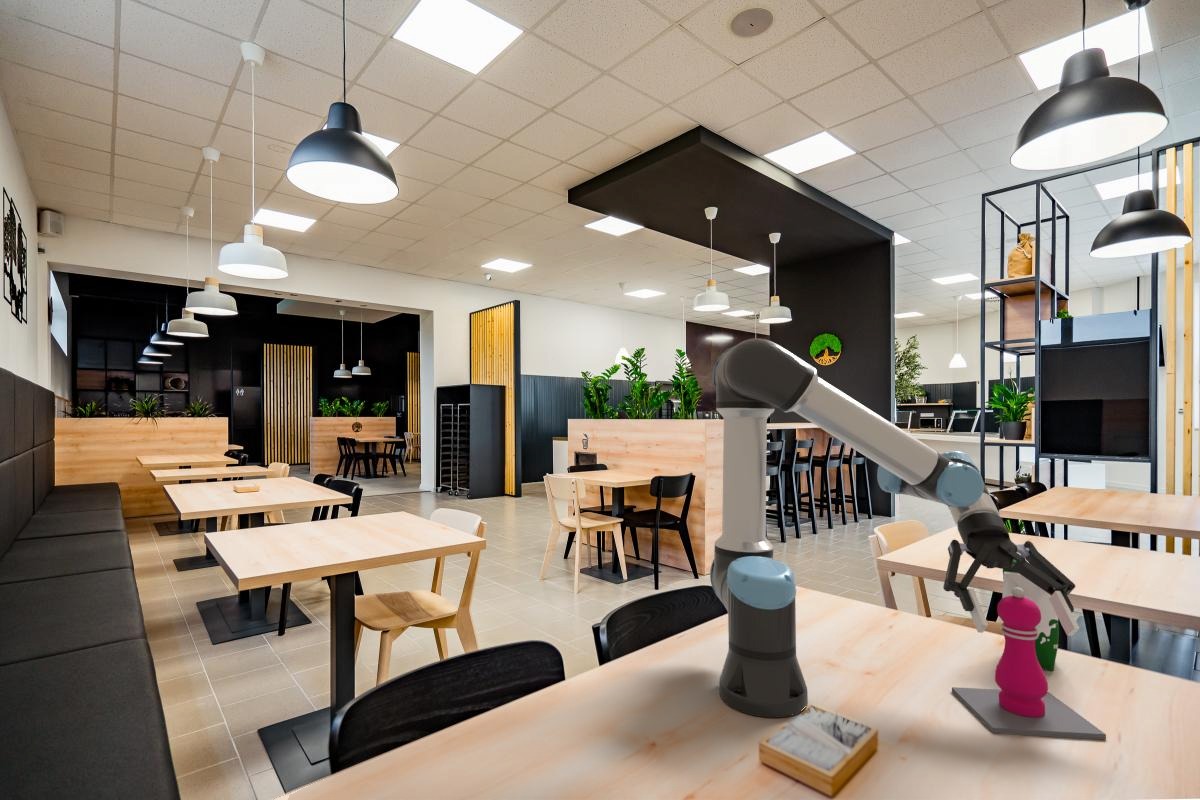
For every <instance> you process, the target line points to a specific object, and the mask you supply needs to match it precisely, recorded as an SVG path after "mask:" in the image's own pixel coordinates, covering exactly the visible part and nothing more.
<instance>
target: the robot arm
mask: <svg viewBox="0 0 1200 800" xmlns="http://www.w3.org/2000/svg"><path fill="white" fill-rule="evenodd" d="M712 383H713V386H714V389H715V390H716V391H715V392H716V397H715V399H716V400H715V403H716V404H715V405H716V406H715V408H716V409H715V410H716V411H717V412H718V414H720V415H721V416H722V418H723V434H722V435H723V443H722V444H723V450H722V451H723V452H722V455H723V456H722V515H721V516H722V523H721V524H722V525H721V526H722V529H721V535H720V536H719V538H717V539H716V540H715V541H714V549H713V551H714V553H713V554H714V558H713V560H712V561H711V565H710V570H709V571H710V573H709V578H710V579H709V580H710V583H711V587H712V589H713V592H714V593H715V595H716V597H717V598H718V599H719V600H720V602H721V603H722V605H723V606H724V608H725V609H726V612H727V616H728V617H727V619H728V620H727V622H728V624H727V626H728V627H727V628H728V633H727V634H728V652H727V654H726V656H725V660H724V664H723V667H722V670H721V672H720V676H719V682H718V683H719V689H718V690H719V692H720V693H719V692H718V693H719V697H720V698H721V700H722V701H723V702H724V703H725V704H726V705H728V706H729V707H731V708H733V709H735V710H737V711H739V712H742V713H744V714H748V715H750V716H751V715H752V716H757V717H763V718H785V717H787V718H788V717H792V716H793V715H792V714H795V715H797V714H796V713H798V714H800V713H801V710H802V709H803V708H804V707H805V706H807V707H808V703H809V699H808V698H809V697H808V694H809V693H808V687H807V684H806V683H807V682H806V681H805V678H804V675H803V672H802V669H801V666H800V663H799V661H798V660H799V659H798V657H797V629H796V627H797V621H796V619H797V618H796V613H797V611H796V595H797V588H796V587H797V585H796V583H795V581H796V580H795V576H794V572H793V570H792V569H791V567H789V565H787V564H786V563H784V562H782V561H780V560H774V545H773V544H772V543H771V541H769V539H767V535H766V531H767V529H766V528H767V525H766V524H767V521H766V520H767V517H766V516H767V438H768V437H767V435H768V434H767V427H768V426H767V425H768V423H767V422H768V421H767V420H768V419H769V417H770V416H771V415H772V414H773V413H774V412H775V409H776V408H777V409H779V410H781V411H782V412H784V413H790V412H794V413H796V414H797V415H799V416H800V417H802V418H803V419H805V420H807V421H809V423H812V424H814V425H815V426H816V427H818V428H820V429H821V430H822V431H824V432H826V433H827V434H829V435H831V436H832V437H834V438H836V440H837V439H838V441H840V442H842V443H844V444H845V445H847V446H848V447H850V448H851V449H853V450H854V451H857V452H858V453H860V454H861V455H863V456H864V457H866V458H867V459H869V460H871V461H873V462H874V463H876V464H877V465H878V468H877V475H876V477H877V483H878V486H879V487H880V489H881V490H882V491H884V492H885V493H892V494H894V495H906V496H912V497H914V498H919V499H922V500H927V501H931V502H935V503H939V504H943V505H945V506H947V507H948V510H949V511H950V513H951V516H952V518H953V520H954V524H955V525H956V527H957V531H958V533H959V535H960V538H961V540H962V543H961V542H959V540H957V539H952V540H951V541H950V543H949V546H948V547H947V551H948V556H949V559H948V565H947V568H946V569H947V570H946V574H945V578H944V582H943V586H942V587H943V590H944V591H945V592H953V594H954V596H955V597H957V598H959V601H960V604H961V606H962V609H963V610H964V611H965V612H969V613H970V616H971V619H972V621H973V623H974V626H975V629H976V632H977V633H981V634H982V633H984V631H985V630H986V629H987V628H988V626H989V623H988V620H987V618H986V616H985V613H984V610H983V609H982V606H981V604H980V601H979V599H978V596H977V593H976V592H975V588H971V587H970V588H968V586H969V585H970V584H971V582H972V580H973V578H974V577H975V575H976V573H977V572H978V570H979V569H980V567H981V566H982V567H986V569H993V568H994V569H996V568H997V569H1002V570H1003V569H1006V567H1007V568H1009V569H1010V570H1012V571H1013V572H1018V573H1019V574H1021V575H1022V576H1024V577H1025V578H1026V579H1028V580H1029V581H1031V582H1032V583H1034V584H1035V585H1037V586H1038V587H1040V588H1041V589H1043V590H1044V591H1045V592H1047V593H1048V594H1050V595H1051V597H1050V598H1049V600H1050V602H1051V604H1052V606H1053V608H1054V610H1055V612H1056V614H1057V616H1058V621H1059V622H1060V624H1061V626H1062V628H1063V630H1064V632H1065V634H1066V636H1067V637H1073V636H1074V635H1075V634H1076V633H1077V632H1078V631H1079V630H1080V626H1079V623H1078V622H1077V620H1076V618H1075V617H1074V616H1075V615H1073V612H1074V611H1075V607H1074V605H1073V604H1072V602H1071V600H1070V597H1069V595H1070V594H1071V593H1072V592H1073V591H1074V590H1075V588H1076V584H1075V583H1074V582H1073V581H1072V580H1071V579H1070V578H1068V577H1067V576H1066V575H1065V574H1064V573H1063V572H1062V571H1061V570H1060V569H1058V568H1057V567H1056V566H1055V565H1054V564H1053V563H1052V562H1051V561H1049V560H1048V559H1047V558H1046V557H1045V556H1044V555H1043V554H1041V552H1039V551H1038V550H1037V548H1036V546H1035V545H1034V543H1033V542H1031V541H1029V540H1026V541H1025V542H1024V543H1023V544H1022V543H1021V544H1015V543H1014V542H1013V541H1012V539H1011V537H1010V533H1009V531H1008V529H1007V526H1006V525H1005V522H1004V521H1003V518H1002V517H1001V515H1000V512H999V510H998V508H997V506H996V504H995V502H994V500H993V499H992V497H991V495H990V493H989V491H988V489H987V486H986V484H985V482H984V480H983V477H982V475H981V473H980V470H979V468H978V467H977V465H976V464H975V462H974V461H973V459H972V457H970V455H968V454H967V453H965V452H963V451H957V450H952V451H951V452H947V451H946V452H942V453H939V452H938V451H936V450H935V449H933V448H932V447H930V446H928V445H927V444H925V443H924V442H923V441H920V440H919V439H917V438H916V437H914V436H913V435H911V434H909V433H908V432H906V431H905V430H903V429H901V428H900V427H898V426H897V425H895V424H893V422H891V421H889V420H887V419H885V418H884V417H882V416H881V415H880V414H878V413H877V412H874V411H873V410H871V409H870V408H868V407H867V406H865V405H863V404H862V403H860V401H857V400H855V399H854V398H853V397H851V396H849V395H847V394H846V393H844V392H843V391H842V390H840V389H838V388H837V387H835V386H833V385H832V384H830V383H828V382H827V381H825V380H824V379H823V378H821V377H819V376H818V370H817V369H816V367H814V366H813V365H811V364H810V363H808V362H806V361H805V360H803V359H802V358H800V357H799V356H798V355H796V354H794V353H792V352H791V351H789V350H788V349H786V348H784V347H783V346H782V345H780V344H777V343H775V342H774V341H771V340H770V339H769V340H768V339H764V338H749V339H746V340H743V341H741V342H739V343H738V344H736V345H734V346H731V347H730V348H728V349H726V350H725V351H724V352H723V353H722V354H721V355H720V356H719V357H718V358H717V360H716V362H715V364H714V366H713V370H712ZM964 552H965V553H966V554H967V555H968V556H969V557H971V558H972V559H973V562H972V563H971V565H970V566H969V568H968V569H967V571H966V572H965V574H964V576H963V578H962V579H961V580H960V582H958V581H956V580H957V575H958V572H959V571H958V569H959V566H960V561H961V556H962V555H964V554H963V553H964ZM1013 559H1014V560H1016V564H1014V563H1012V562H1013ZM791 715H792V716H791Z"/></svg>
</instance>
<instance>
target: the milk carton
mask: <svg viewBox="0 0 1200 800" xmlns="http://www.w3.org/2000/svg"><path fill="white" fill-rule="evenodd" d="M1012 563H1014V564H1016V560H1014V559H1013V562H1012ZM1002 576H1003V577H1002V597H1001V599H1003V598H1005V597H1007V596H1013V594H1012V590H1013V588H1015V587H1019V588H1021V589H1023V590H1024V592H1025V595H1024V597H1025V598H1027V599H1030V600H1031V601H1033V602H1034V603H1035V604H1036V605H1037V606H1038V607H1039V609H1040V612H1041V621H1040V623H1039V624H1038V625H1037V626H1036V627H1035V628H1036V629H1037V630H1038V633H1037V635H1038V638H1037V639H1035V651H1036V656H1037V660H1038V662H1039V664H1040V666H1041V668H1042V670H1045V671H1050V672H1051V671H1052V672H1054V670H1055V665H1056V659H1057V653H1058V649H1059V648H1058V647H1059V635H1060V632H1059V630H1060V629H1059V618H1058V616H1057V614H1056V612H1055V610H1054V608H1053V606H1052V604H1051V602H1050V600H1049V598H1050V597H1051V595H1050V594H1048V593H1047V592H1045V591H1044V590H1043V589H1041V588H1040V587H1038V586H1037V585H1035V584H1034V583H1032V582H1031V581H1029V580H1028V579H1026V578H1025V577H1024V576H1022V575H1021V574H1019V573H1018V572H1013V571H1012V570H1010V569H1009V568H1007V567H1006V569H1002ZM1002 623H1004V622H1003V621H1002ZM1003 637H1004V638H1005V635H1004V634H1003Z"/></svg>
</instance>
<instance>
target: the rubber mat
mask: <svg viewBox="0 0 1200 800" xmlns="http://www.w3.org/2000/svg"><path fill="white" fill-rule="evenodd" d="M1000 691H1002V690H1001V689H997V688H996V689H995V688H993V689H992V688H974V687H957V686H955V687H954V686H953V687H951V693H953V695H954V696H956V698H957V699H959V701H960V702H961V703H963V704H964V706H965V707H966V708H968V710H969V711H970V712H972V713H973V715H975V716H976V718H977V719H978V720H980V721H981V723H983V724H984V725H985V726H986V727H987V728H988V730H990V732H991V733H993V734H1005V735H1019V736H1020V735H1021V736H1035V737H1036V736H1039V737H1040V736H1041V737H1053V738H1054V737H1055V738H1072V739H1073V738H1074V739H1089V740H1091V739H1092V740H1107V734H1106V733H1105V732H1103V731H1102V730H1101V729H1099V728H1098V727H1097V726H1095V725H1094V724H1093V723H1091V722H1090V721H1089V720H1087V719H1086V718H1084V717H1083V716H1082V715H1080V714H1079V713H1078V712H1076V711H1075V710H1074V709H1072V708H1071V707H1070V706H1068V705H1067V704H1065V703H1064V702H1063V701H1061V699H1059V698H1057V697H1056V696H1055V695H1053V694H1052V693H1051V692H1050V691H1048V692H1047V694H1046V695H1045V696H1044V697H1043V698H1041V699H1042V700H1043V701H1044V703H1045V715H1044V716H1042V717H1025V716H1020V715H1017V714H1014V713H1011V712H1009V711H1007V710H1005V709H1004V708H1002V707H1001V705H1000V704H999V692H1000Z"/></svg>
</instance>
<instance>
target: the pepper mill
mask: <svg viewBox="0 0 1200 800" xmlns="http://www.w3.org/2000/svg"><path fill="white" fill-rule="evenodd" d="M1012 594H1013V596H1007V597H1005V598H1003V599H1002V598H1001V599H1000V600H999V601H998V603H997V607H996V608H997V609H996V610H997V616H998V617H999V618H1000V620H1001V621H1002V623H1001V633H1002V634H1003V636H1004V635H1005V637H1004V648H1003V652H1002V655H1001V657H1000V658H999V661H998V662H997V664H996V668H995V671H994V672H995V673H994V681H995V683H996V685H997V686H998V687H999V688H1000V690H1002V691H1000V692H999V704H1000V705H1001V707H1002V708H1004V709H1005V710H1007V711H1009V712H1011V713H1014V714H1017V715H1020V716H1025V717H1042V716H1044V715H1045V703H1044V701H1043V700H1042V699H1041V698H1043V697H1044V696H1045V695H1046V694H1047V692H1049V686H1048V685H1049V684H1048V680H1047V677H1046V675H1045V672H1044V669H1042V668H1041V666H1040V664H1039V662H1038V660H1037V656H1036V651H1035V639H1037V638H1038V635H1037V633H1038V630H1037V629H1036V628H1035V627H1036V626H1037V625H1038V624H1039V623H1040V621H1041V612H1040V609H1039V607H1038V606H1037V605H1036V604H1035V603H1034V602H1033V601H1031V600H1030V599H1027V598H1025V597H1024V595H1025V592H1024V590H1023V589H1021V588H1019V587H1015V588H1013V590H1012ZM1003 622H1004V623H1003Z"/></svg>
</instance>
